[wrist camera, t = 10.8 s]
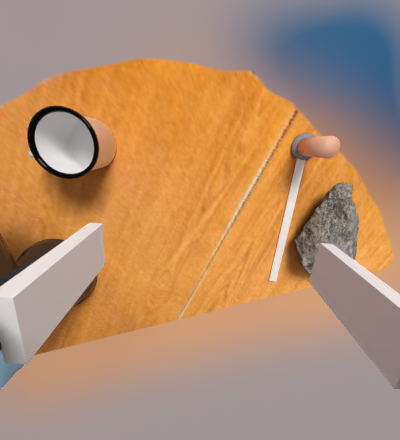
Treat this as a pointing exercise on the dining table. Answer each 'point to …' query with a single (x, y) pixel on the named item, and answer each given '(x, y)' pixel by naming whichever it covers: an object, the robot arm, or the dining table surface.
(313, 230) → the rock
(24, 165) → the dining table surface
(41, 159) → the mug
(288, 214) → the crank handle
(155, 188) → the dining table surface
